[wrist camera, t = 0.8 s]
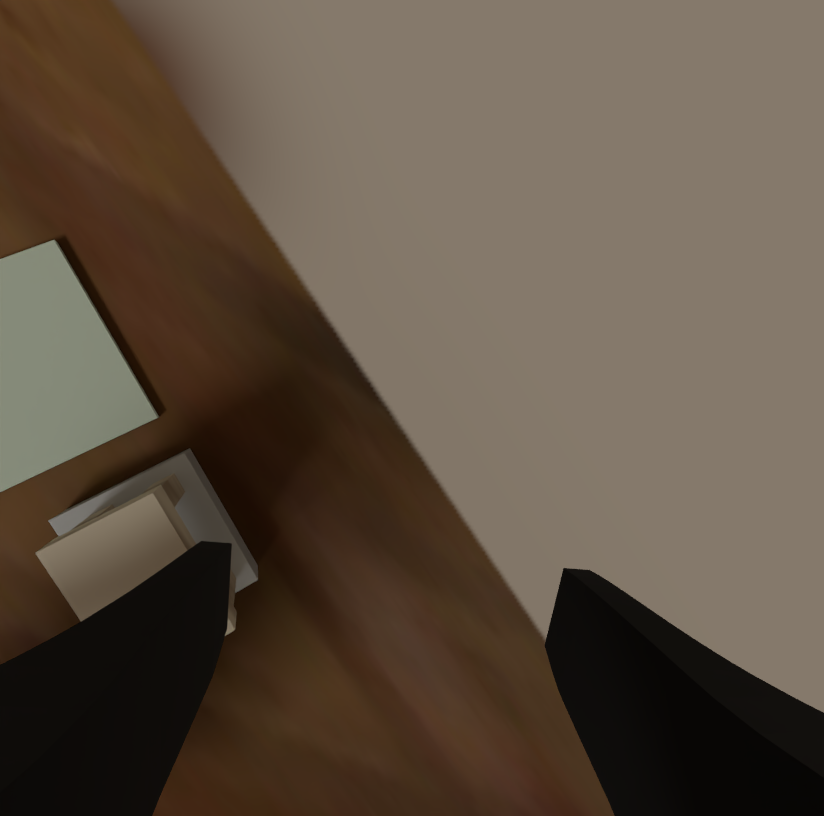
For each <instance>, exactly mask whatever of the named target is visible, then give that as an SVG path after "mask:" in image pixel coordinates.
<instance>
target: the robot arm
mask: <svg viewBox="0 0 824 816" xmlns="http://www.w3.org/2000/svg"><path fill="white" fill-rule="evenodd" d="M231 550H232V543H222V542H209V541H200V542H199V543H197V544H196V545H194V546H193V547H192V548H190V549H189V550H187V551H186V552H185V553H183V554H182V555H180V556H179V557H178V558H176V559H175V560H174V561H172V562H171V563H169V564H168V565H167V566H165V567H164V568H162V569H161V570H160V571H158V572H157V573H155V574H154V575H152V576H151V577H149V578H148V579H147V580H145V581H144V582H142V583H141V584H139V585H138V586H136V587H135V588H134V589H132V590H131V591H129V592H128V593H126V594H124V595H123V596H121V597H120V598H118V599H116V600H115V601H113V602H112V603H110V604H108V605H107V606H105V607H104V608H102V609H100V610H99V611H97V612H96V613H94V614H92V615H91V616H89V617H88V618H86V619H84V620H83V621H81V622H80V623H78V624H76V625H75V626H73V627H71V628H69V629H68V630H66V631H64V632H62V633H60V634H59V635H57V636H55V637H53V638H51V639H50V640H48V641H46V642H44V643H42V644H40V645H38V646H36V647H34V648H32V649H31V650H29V651H27V652H25V653H23V654H21V655H19V656H17V657H15V658H13V659H11V660H9V661H7V662H5V663H3V664H1V665H0V816H152V815H153V812H154V810H155V807H156V805H157V802H158V800H159V797H160V795H161V792H162V790H163V788H164V786H165V783H166V781H167V779H168V777H169V774H170V772H171V770H172V767H173V765H174V763H175V761H176V758H177V756H178V754H179V752H180V749H181V747H182V745H183V743H184V740H185V738H186V736H187V733H188V731H189V729H190V727H191V724H192V722H193V720H194V718H195V715H196V713H197V711H198V708H199V706H200V704H201V702H202V699H203V697H204V695H205V692H206V690H207V688H208V685H209V683H210V681H211V678H212V676H213V673H214V670H215V667H216V663H217V660H218V657H219V654H220V651H221V647H222V644H223V641H224V637H225V634H226V631H227V624H228V605H229V587H230V568H231ZM545 648H546V651H547V655H548V658H549V662H550V665H551V669H552V672H553V675H554V678H555V681H556V684H557V687H558V690H559V693H560V695H561V697H562V700H563V702H564V704H565V706H566V709H567V711H568V713H569V715H570V718H571V720H572V722H573V724H574V727H575V729H576V731H577V733H578V735H579V737H580V740H581V742H582V744H583V746H584V748H585V751H586V753H587V755H588V757H589V759H590V761H591V764H592V766H593V768H594V770H595V772H596V774H597V777H598V779H599V781H600V783H601V785H602V788H603V790H604V792H605V794H606V796H607V798H608V801H609V803H610V805H611V808H612V810H613V813H614V815H615V816H824V713H823V712H821V711H819V710H817V709H815V708H813V707H811V706H809V705H807V704H805V703H803V702H801V701H799V700H798V699H795V698H794V697H792V696H790V695H788V694H786V693H785V692H783V691H781V690H779V689H777V688H775V687H774V686H771V685H770V684H768V683H766V682H765V681H763V680H761V679H759V678H757V677H755V676H754V675H752V674H750V673H748V672H747V671H745V670H743V669H742V668H740V667H738V666H736V665H735V664H733V663H731V662H730V661H728V660H727V659H725V658H723V657H722V656H720V655H718V654H717V653H715V652H713V651H712V650H711V649H709V648H707V647H706V646H704V645H702V644H701V643H699V642H698V641H696V640H695V639H693V638H692V637H690V636H689V635H687V634H685V633H684V632H683V631H681V630H680V629H678V628H677V627H675V626H674V625H672V624H671V623H669V622H667V621H666V620H665V619H663V618H662V617H660V616H659V615H657V614H656V613H654V612H653V611H652V610H650V609H648V608H647V607H646V606H644V605H643V604H641V603H640V602H638V601H637V600H636V599H634V598H633V597H631V596H630V595H628V594H627V593H625V592H624V591H622V590H620V589H619V588H618V587H616V586H615V585H613V584H612V583H610V582H609V581H607V580H606V579H604V578H602V577H601V576H599V575H597V574H596V573H594V572H592V571H590V570H580V569H567V568H564V569H563V573H562V577H561V582H560V585H559V589H558V593H557V597H556V601H555V606H554V610H553V614H552V618H551V622H550V626H549V631H548V634H547V638H546V642H545Z"/></svg>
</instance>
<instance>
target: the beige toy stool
mask: <svg viewBox="0 0 824 816" xmlns="http://www.w3.org/2000/svg"><path fill="white" fill-rule="evenodd" d="M184 493H185V491H184V489H183V487H182V485H181V484H180V482H179V480H178V479H177V477H176V475H175V474H174V473H173V474H171V475H169V476H167V477H165V478H163V479H161V480H159V481H157V482H155V483H153V484H152V485H151V486H150V487H149V488H148V489H147V490H146V491H144V492H143V493H142V494H141V495H139V496H138V497H136V498H134V499H132V500H130V501H128V502H126V503H124V504H122V505H120V506H118V507H116V508H114V506H113V504H112V505H110V506H108V507H106V508H104V509H102V510H100V511H98V512H96V513H94V514H92V515H90V516H89V517H87V518H86V519H85V520H83V521H82V522H81V523H79V524H78V525H77V526H76V527H74V528H73V529H72V530H70V531H69V532H67V533H65V534H63V535H61V536H59V537H57V538H55V539H53V540H52V541H51V542H49V543H48V544H46V545H45V546H44V547H42V548H41V549H40V550H38V551H37V552H36V555H37V556H38V558H39V559H40V561H41V562H42V564H43V565H44V567H45V568H46V570H47V571H48V573H49V574H50V576H51V577H52V579H53V580H54V582H55V583H56V585H57V586H58V588H59V589H60V591H61V592H62V594H63V595H64V597H65V598H66V600H67V601H68V603H69V604H70V606H71V607H72V609H73V610H74V612H75V613H76V615H77V616H78V618H79V619H80V621H83V620H84V619H86V618H88V617H89V616H91V615H92V614H94V613H96V612H97V611H99V610H100V609H102V608H104V607H105V606H107V605H108V604H110V603H112V602H113V601H115V600H116V599H118V598H120V597H121V596H123V595H124V594H126V593H128V592H129V591H131V590H132V589H134V588H135V587H136V586H138V585H139V584H141V583H142V582H144V581H145V580H147V579H148V578H149V577H151V576H152V575H154V574H155V573H157V572H158V571H160V570H161V569H162V568H164V567H165V566H167V565H168V564H169V563H171V562H172V561H174V560H175V559H176V558H178V557H179V556H180V555H182V554H183V553H185V552H186V551H187V550H189V549H190V548H192V547H193V546H194V545H196V543H195V541H194V539H193V538H192V536H191V534H190V533H189V531H188V529H187V527H186V526H185V524H184V522H183V521H182V519H181V517H180V516H179V514H178V512H177V511H176V509H175V506H176V505H177V503H178V502H179V500H180V499H181V497H182V496H183V494H184ZM235 587H236V577H235V575H234V574H233V572H232V570H231V569H230V587H229V605H228V624H227V631H226V634H225V636H226V635H228V634H229V633H231V632H233V631H234V630H235V627H236V615H237V611H236V610H235V608H234V598H235Z"/></svg>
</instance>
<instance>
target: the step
mask: <svg viewBox="0 0 824 816" xmlns="http://www.w3.org/2000/svg"><path fill="white" fill-rule="evenodd" d="M173 473H174V474H175V475H176V477H177V479H178V480H179V482H180V484H181V485H182V487H183V489H184V491H185V493H184V494H183V496H182V497H181V499H180V500H179V502H178V503H177V505H176V506H175V509H176V511H177V512H178V514H179V516H180V517H181V519H182V521H183V522H184V524H185V526H186V527H187V529H188V531H189V533H190V534H191V536H192V538H193V539H194V541H195V543H196V544H197V543H199V542H200V541H209V542H222V543H232V550H231V568H230V569H231V570H232V572H233V574H234V575H235V577H236V587H235V593H236V592H238V591H240V590H242V589H243V588H245V587H247V586H248V585H250V584H252V583H253V582H255V581H257V580H258V565H257V563H256V562H255V560H254V558H253V556H252V555H251V553H250V551H249V549H248V548H247V546H246V544H245V543H244V541H243V539H242V537H241V536H240V534H239V532H238V530H237V529H236V527H235V525H234V524H233V522H232V520H231V518H230V517H229V515H228V513H227V511H226V510H225V508H224V506H223V504H222V503H221V501H220V499H219V498H218V496H217V494H216V492H215V491H214V489H213V487H212V485H211V484H210V482H209V480H208V478H207V477H206V475H205V473H204V472H203V470H202V468H201V466H200V465H199V463H198V461H197V459H196V458H195V456H194V454H193V453H192V451H191V449H190V448H189V449H187V450H185V451H183V452H181V453H179V454H177V455H175V456H173V457H171V458H169V459H167V460H165V461H163V462H161V463H159V464H157V465H155V466H153V467H151V468H149V469H147V470H145V471H143V472H141V473H139V474H137V475H135V476H133V477H131V478H129V479H127V480H125V481H123V482H121V483H119V484H117V485H115V486H113V487H111V488H109V489H107V490H105V491H103V492H101V493H99V494H97V495H94V496H92V497H90V498H88V499H86V500H84V501H82V502H80V503H78V504H76V505H74V506H72V507H70V508H68V509H66V510H65V511H63V512H61V513H60V514H58V515H57V516H55V517H54V518H52V519H50V520H49V523H50V524H51V526H52V527H53V529H54V530H55V532H56V533H57V535H58V536H61V535H63V534H65V533H67V532H69V531H70V530H72V529H73V528H74V527H76V526H77V525H78V524H79V523H81V522H82V521H83V520H85V519H86V518H87V517H89V516H90V515H92V514H94V513H96V512H98V511H100V510H102V509H104V508H106V507H108V506H110V505H112V504H113V506H114V508H116V507H118V506H120V505H122V504H124V503H126V502H128V501H130V500H132V499H134V498H136V497H138V496H139V495H141V494H142V493H143V492H144V491H146V490H147V489H148V488H149V487H150V486H151V485H152V484H153V483H155V482H157V481H159V480H161V479H163V478H165V477H167V476H169V475H171V474H173Z"/></svg>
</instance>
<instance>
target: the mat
mask: <svg viewBox="0 0 824 816" xmlns="http://www.w3.org/2000/svg"><path fill="white" fill-rule="evenodd" d="M158 417H159V416H158V414H157V412H156V411H155V409H154V407H153V405H152V404H151V402H150V400H149V399H148V397H147V395H146V393H145V392H144V390H143V388H142V387H141V385H140V383H139V381H138V380H137V378H136V376H135V375H134V373H133V371H132V369H131V368H130V366H129V364H128V363H127V361H126V359H125V357H124V356H123V354H122V352H121V350H120V349H119V347H118V345H117V344H116V342H115V340H114V338H113V337H112V335H111V333H110V332H109V330H108V328H107V326H106V325H105V323H104V321H103V320H102V318H101V316H100V314H99V313H98V311H97V309H96V308H95V306H94V304H93V302H92V301H91V299H90V297H89V296H88V294H87V292H86V290H85V289H84V287H83V285H82V284H81V282H80V280H79V278H78V277H77V275H76V273H75V271H74V270H73V268H72V266H71V265H70V263H69V261H68V259H67V258H66V256H65V254H64V253H63V251H62V249H61V247H60V246H59V244H58V242H56V241H55V240H52V241H49V242H47V243H44V244H41V245H38V246H36V247H33V248H30V249H27V250H24V251H22V252H19V253H16V254H13V255H11V256H8V257H5V258H2V259H0V492H2V491H4V490H6V489H8V488H10V487H12V486H15V485H17V484H19V483H21V482H23V481H25V480H27V479H29V478H31V477H34V476H36V475H38V474H40V473H42V472H44V471H46V470H48V469H51V468H53V467H55V466H57V465H59V464H61V463H63V462H65V461H67V460H70V459H72V458H74V457H76V456H78V455H80V454H82V453H84V452H86V451H89V450H91V449H93V448H95V447H97V446H99V445H101V444H103V443H106V442H108V441H110V440H112V439H114V438H116V437H118V436H120V435H122V434H125V433H127V432H129V431H131V430H133V429H135V428H137V427H139V426H141V425H144V424H146V423H148V422H150V421H152V420H154V419H156V418H158Z"/></svg>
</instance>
